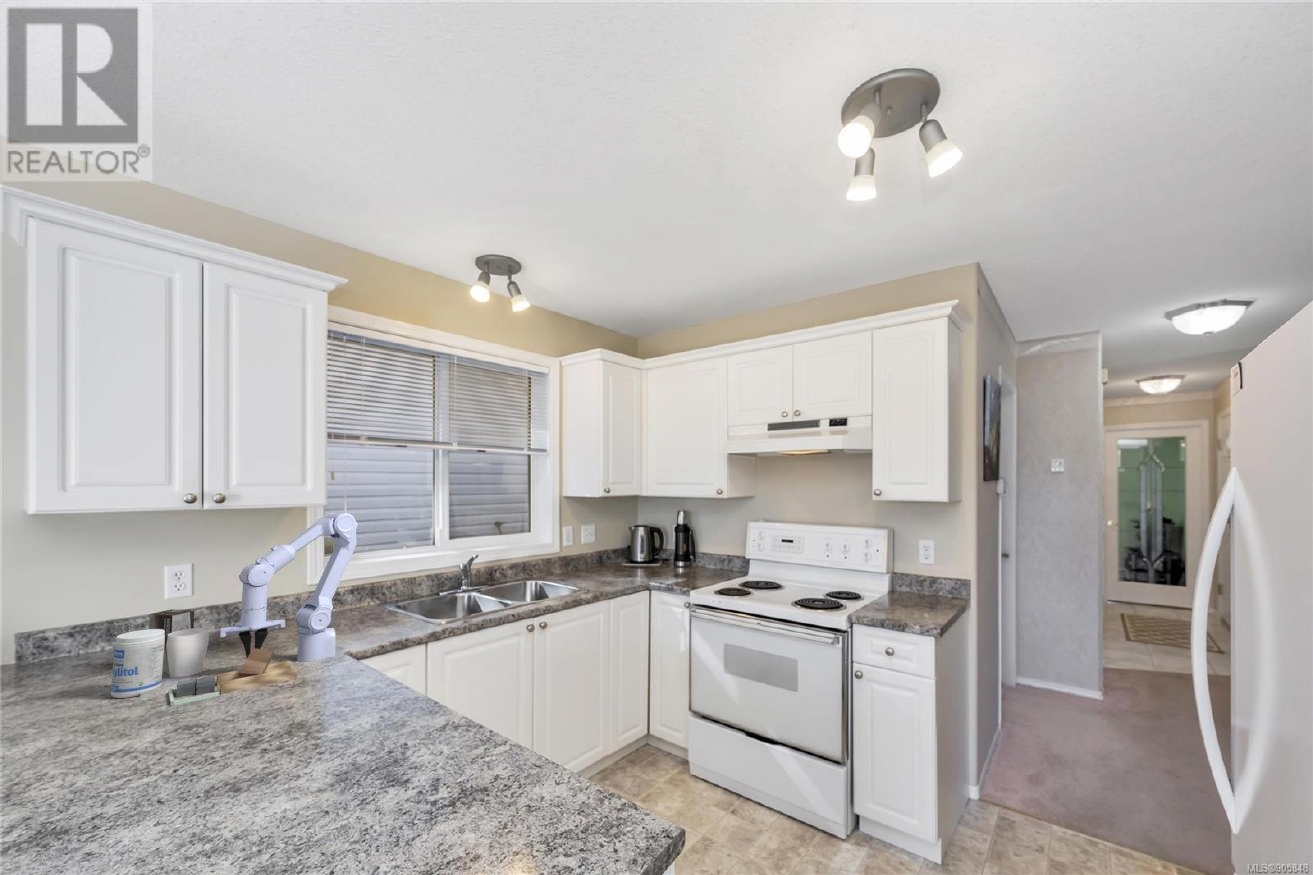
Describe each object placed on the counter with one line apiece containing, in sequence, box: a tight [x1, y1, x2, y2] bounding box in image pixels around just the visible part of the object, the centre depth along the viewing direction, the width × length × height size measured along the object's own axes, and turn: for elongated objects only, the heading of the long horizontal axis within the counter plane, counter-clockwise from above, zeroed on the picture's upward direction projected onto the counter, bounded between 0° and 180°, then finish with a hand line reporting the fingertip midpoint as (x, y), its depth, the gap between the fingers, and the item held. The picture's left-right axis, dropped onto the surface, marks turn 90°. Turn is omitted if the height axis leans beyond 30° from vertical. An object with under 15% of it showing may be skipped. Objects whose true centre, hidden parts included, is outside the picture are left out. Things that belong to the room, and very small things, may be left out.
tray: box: [167, 687, 220, 707], centre depth 139 cm, size 9×11×2 cm
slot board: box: [215, 660, 298, 695], centre depth 147 cm, size 16×10×3 cm, turn 133°
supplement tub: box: [110, 628, 165, 699], centre depth 144 cm, size 10×10×15 cm
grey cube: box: [195, 675, 216, 696], centre depth 141 cm, size 4×4×4 cm
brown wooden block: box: [238, 648, 275, 679], centre depth 149 cm, size 2×5×9 cm
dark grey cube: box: [175, 677, 198, 698], centre depth 139 cm, size 4×4×4 cm
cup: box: [166, 627, 210, 679], centre depth 155 cm, size 9×9×12 cm
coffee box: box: [148, 608, 195, 674], centre depth 162 cm, size 9×6×16 cm
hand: (252, 658), depth 154 cm, fingers closed
